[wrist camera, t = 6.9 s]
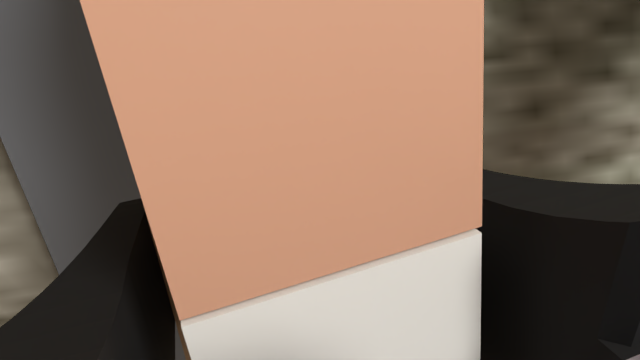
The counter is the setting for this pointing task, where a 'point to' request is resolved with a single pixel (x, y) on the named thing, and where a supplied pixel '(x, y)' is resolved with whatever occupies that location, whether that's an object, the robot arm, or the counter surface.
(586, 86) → the counter surface
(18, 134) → the dock
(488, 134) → the counter surface
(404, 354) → the block
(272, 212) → the terracotta crate
